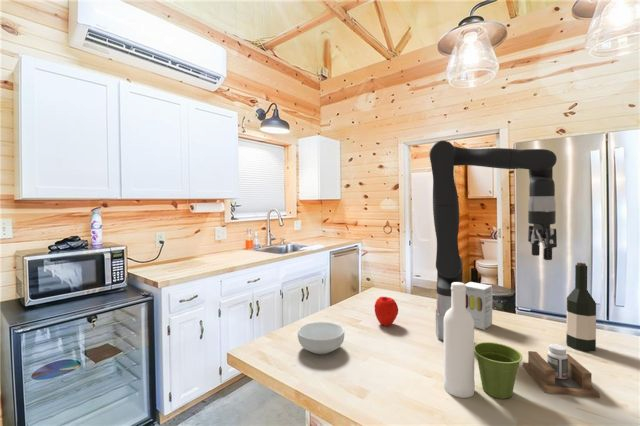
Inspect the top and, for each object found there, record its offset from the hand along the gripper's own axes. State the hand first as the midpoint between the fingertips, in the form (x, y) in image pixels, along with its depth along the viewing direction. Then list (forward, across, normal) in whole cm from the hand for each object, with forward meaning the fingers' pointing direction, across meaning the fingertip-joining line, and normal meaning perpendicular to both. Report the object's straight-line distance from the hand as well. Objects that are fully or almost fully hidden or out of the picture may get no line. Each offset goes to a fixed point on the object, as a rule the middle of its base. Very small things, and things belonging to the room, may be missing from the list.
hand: (541, 257), depth 105 cm
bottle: (+33, +27, -32) cm, 53 cm away
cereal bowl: (+33, +10, -75) cm, 83 cm away
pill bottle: (+32, +17, -3) cm, 36 cm away
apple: (+33, -17, -52) cm, 64 cm away
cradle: (+33, +17, -3) cm, 37 cm away
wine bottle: (+33, -8, +16) cm, 38 cm away
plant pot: (+33, +26, -22) cm, 48 cm away
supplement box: (+33, -24, -14) cm, 43 cm away
